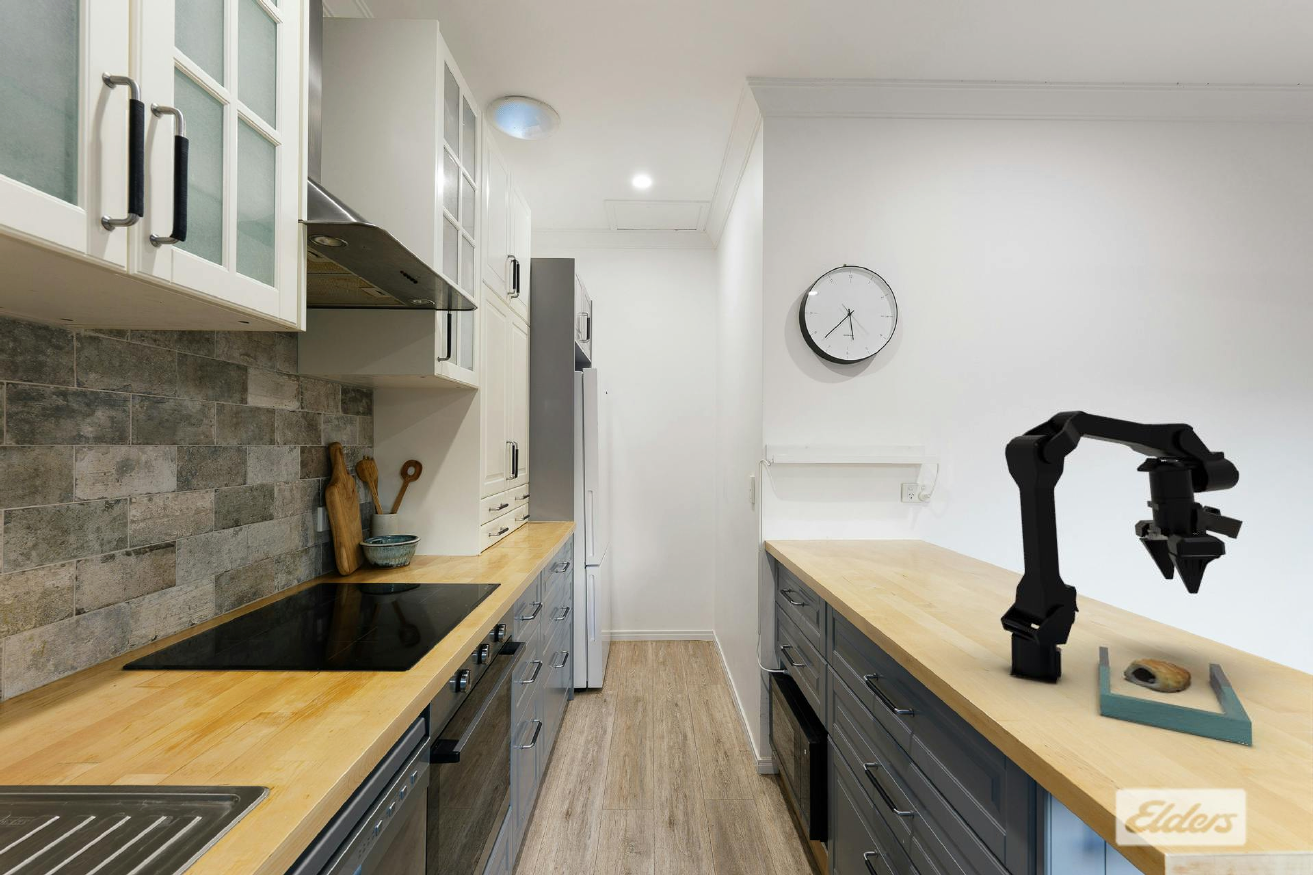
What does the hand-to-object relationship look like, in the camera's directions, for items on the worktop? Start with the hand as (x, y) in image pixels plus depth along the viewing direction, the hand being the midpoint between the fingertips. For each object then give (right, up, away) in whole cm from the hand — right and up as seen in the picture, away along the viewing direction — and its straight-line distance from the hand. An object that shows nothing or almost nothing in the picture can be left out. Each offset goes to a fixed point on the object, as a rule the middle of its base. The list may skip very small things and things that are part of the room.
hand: (1180, 586), depth 104 cm
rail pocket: (-14, -14, -14) cm, 24 cm away
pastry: (-10, -14, -8) cm, 19 cm away
